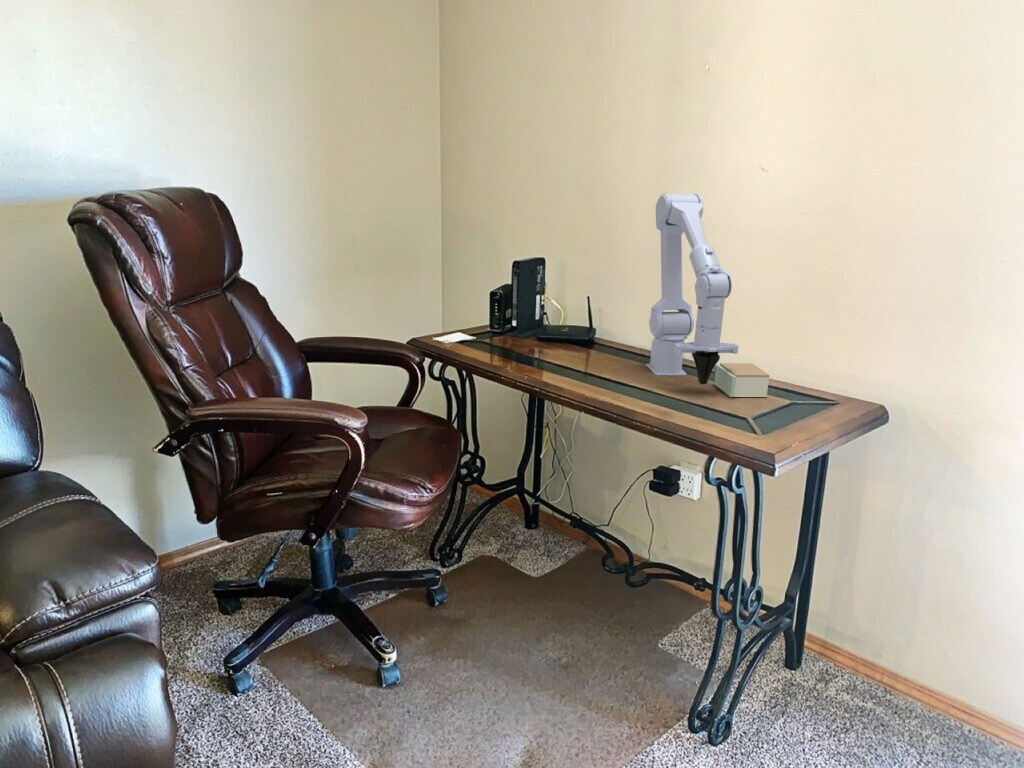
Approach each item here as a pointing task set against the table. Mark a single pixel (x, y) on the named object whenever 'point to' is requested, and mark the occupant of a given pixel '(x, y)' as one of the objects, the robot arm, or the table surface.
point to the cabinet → (748, 379)
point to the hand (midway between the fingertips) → (702, 382)
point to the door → (724, 380)
